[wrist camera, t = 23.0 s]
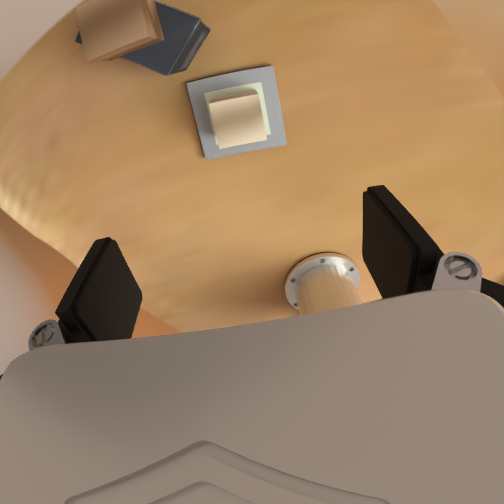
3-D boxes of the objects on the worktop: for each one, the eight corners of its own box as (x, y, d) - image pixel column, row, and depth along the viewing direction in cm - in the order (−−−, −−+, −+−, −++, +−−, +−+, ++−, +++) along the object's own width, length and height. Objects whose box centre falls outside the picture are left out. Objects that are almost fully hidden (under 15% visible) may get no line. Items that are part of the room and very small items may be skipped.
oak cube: (263, 129, 34) (267, 139, 30) (221, 137, 35) (219, 149, 31) (255, 89, 32) (258, 93, 28) (212, 98, 32) (208, 103, 28)
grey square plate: (285, 142, 37) (287, 145, 36) (206, 158, 37) (206, 160, 36) (272, 65, 31) (273, 65, 30) (187, 82, 32) (186, 83, 31)
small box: (110, 44, 28) (69, 43, 19) (135, -2, 24) (101, -18, 16) (185, 74, 31) (165, 79, 22) (212, 28, 28) (203, 16, 19)
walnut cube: (164, 40, 20) (148, 36, 16) (111, 60, 21) (87, 62, 17) (152, -8, 18) (135, -20, 13) (100, 14, 18) (74, 8, 14)
